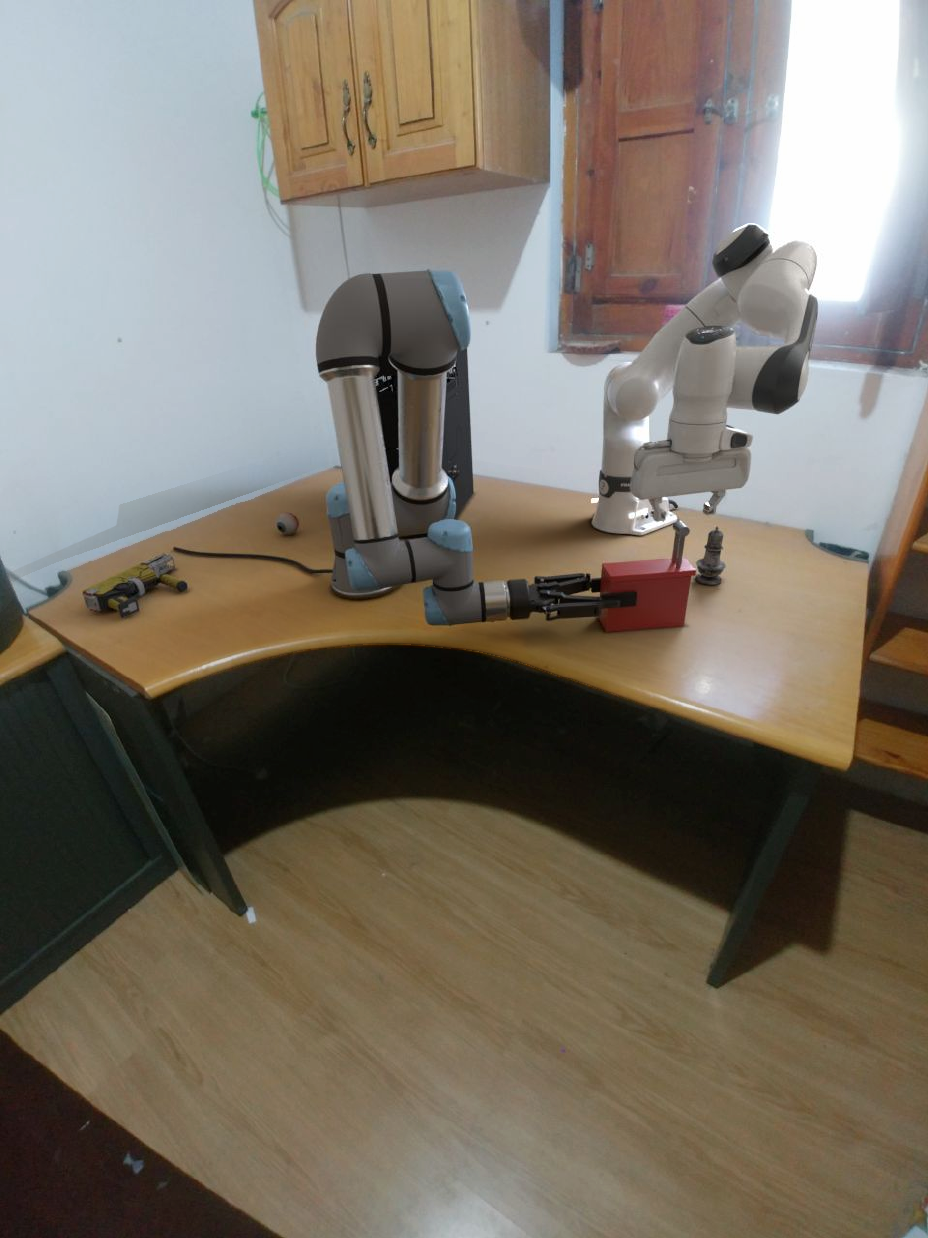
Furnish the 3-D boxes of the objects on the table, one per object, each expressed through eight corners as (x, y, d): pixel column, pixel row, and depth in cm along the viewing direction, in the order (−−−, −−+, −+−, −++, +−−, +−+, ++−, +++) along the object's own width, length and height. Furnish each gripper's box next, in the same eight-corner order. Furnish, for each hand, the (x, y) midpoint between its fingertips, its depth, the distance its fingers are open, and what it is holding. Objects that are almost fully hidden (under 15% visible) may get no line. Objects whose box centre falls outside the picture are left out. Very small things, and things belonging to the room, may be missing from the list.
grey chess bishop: (725, 585, 126) (735, 532, 120) (695, 584, 127) (704, 531, 121) (720, 573, 131) (730, 521, 125) (692, 572, 132) (700, 520, 126)
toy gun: (211, 561, 143) (160, 551, 147) (132, 605, 123) (75, 591, 127) (214, 579, 146) (164, 568, 150) (137, 625, 126) (81, 610, 130)
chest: (672, 611, 119) (679, 563, 113) (683, 625, 114) (691, 576, 109) (598, 617, 118) (601, 569, 113) (606, 632, 113) (609, 582, 108)
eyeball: (273, 537, 164) (268, 516, 161) (287, 528, 169) (282, 508, 166) (291, 539, 161) (286, 518, 158) (305, 530, 166) (301, 510, 163)
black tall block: (442, 539, 156) (428, 350, 134) (369, 536, 161) (343, 353, 138) (473, 492, 188) (466, 333, 165) (411, 491, 192) (396, 335, 170)
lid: (683, 562, 113) (690, 516, 109) (695, 575, 109) (703, 528, 104) (601, 568, 113) (604, 523, 108) (610, 582, 108) (613, 534, 103)
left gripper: (501, 594, 122) (614, 586, 122) (514, 644, 105) (645, 633, 106) (500, 560, 118) (617, 552, 119) (514, 606, 102) (649, 596, 102)
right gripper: (644, 448, 95) (636, 530, 101) (762, 435, 98) (747, 516, 104) (627, 438, 100) (620, 518, 107) (739, 427, 103) (726, 504, 110)
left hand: (630, 590), depth 112 cm, fingers closed on chest, 6 cm apart
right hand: (684, 517), depth 106 cm, fingers open, 8 cm apart
